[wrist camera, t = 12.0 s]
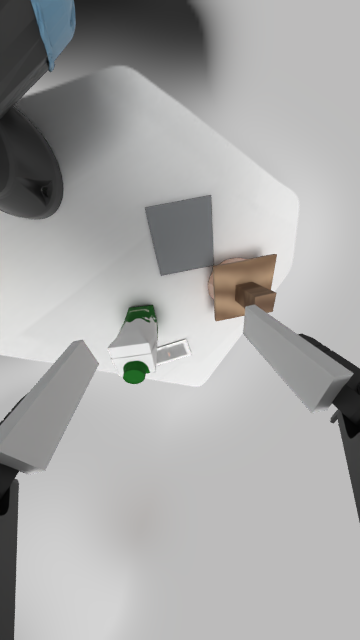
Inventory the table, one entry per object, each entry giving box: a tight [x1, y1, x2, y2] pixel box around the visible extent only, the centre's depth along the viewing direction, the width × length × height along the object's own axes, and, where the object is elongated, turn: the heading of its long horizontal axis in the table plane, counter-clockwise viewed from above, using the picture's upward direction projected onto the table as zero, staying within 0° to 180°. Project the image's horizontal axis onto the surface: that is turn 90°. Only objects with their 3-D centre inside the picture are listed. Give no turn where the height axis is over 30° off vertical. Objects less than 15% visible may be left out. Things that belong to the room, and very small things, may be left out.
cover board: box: [213, 254, 277, 321], centre depth 31 cm, size 14×14×9 cm
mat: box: [145, 195, 214, 276], centre depth 33 cm, size 14×14×1 cm
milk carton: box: [107, 305, 158, 384], centre depth 34 cm, size 9×9×20 cm
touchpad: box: [156, 339, 192, 366], centre depth 50 cm, size 8×15×2 cm, turn 107°
